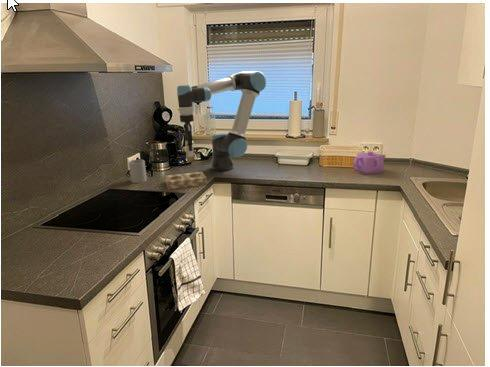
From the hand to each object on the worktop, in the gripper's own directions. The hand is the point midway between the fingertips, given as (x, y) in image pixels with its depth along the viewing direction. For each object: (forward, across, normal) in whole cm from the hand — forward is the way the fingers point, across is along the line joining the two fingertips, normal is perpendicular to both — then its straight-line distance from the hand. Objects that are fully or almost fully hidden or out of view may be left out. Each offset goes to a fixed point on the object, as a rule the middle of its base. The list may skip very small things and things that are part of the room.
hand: (190, 155), depth 200 cm
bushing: (+4, 0, 0) cm, 4 cm away
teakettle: (+18, +20, +106) cm, 109 cm away
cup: (+16, -16, -30) cm, 38 cm away
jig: (+16, 0, -4) cm, 17 cm away
